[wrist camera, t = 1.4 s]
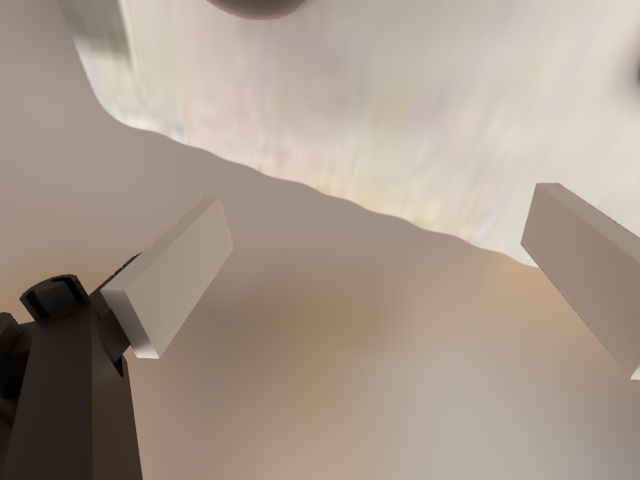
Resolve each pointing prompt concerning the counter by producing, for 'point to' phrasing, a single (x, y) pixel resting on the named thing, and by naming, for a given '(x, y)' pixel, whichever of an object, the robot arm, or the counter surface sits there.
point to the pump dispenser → (258, 8)
